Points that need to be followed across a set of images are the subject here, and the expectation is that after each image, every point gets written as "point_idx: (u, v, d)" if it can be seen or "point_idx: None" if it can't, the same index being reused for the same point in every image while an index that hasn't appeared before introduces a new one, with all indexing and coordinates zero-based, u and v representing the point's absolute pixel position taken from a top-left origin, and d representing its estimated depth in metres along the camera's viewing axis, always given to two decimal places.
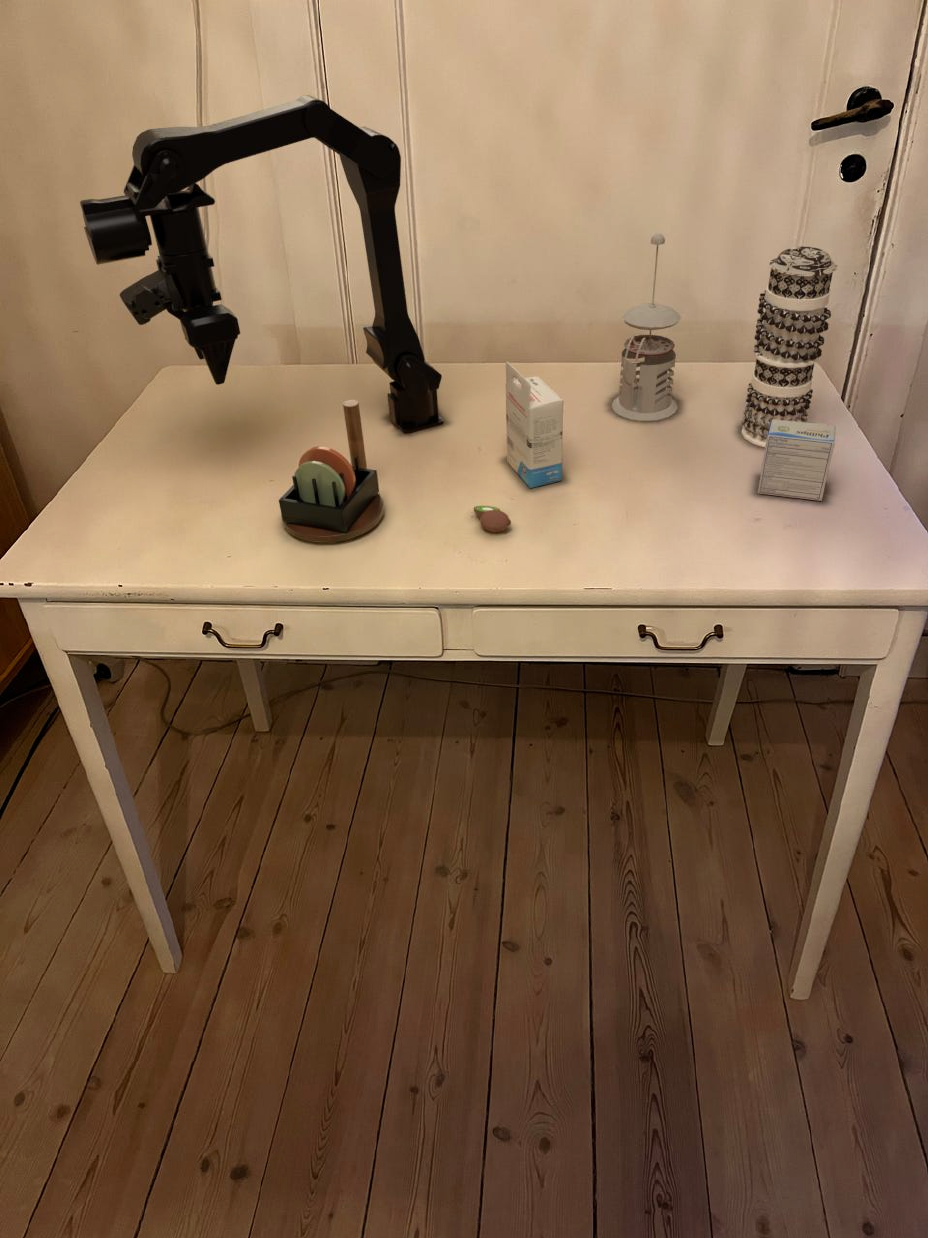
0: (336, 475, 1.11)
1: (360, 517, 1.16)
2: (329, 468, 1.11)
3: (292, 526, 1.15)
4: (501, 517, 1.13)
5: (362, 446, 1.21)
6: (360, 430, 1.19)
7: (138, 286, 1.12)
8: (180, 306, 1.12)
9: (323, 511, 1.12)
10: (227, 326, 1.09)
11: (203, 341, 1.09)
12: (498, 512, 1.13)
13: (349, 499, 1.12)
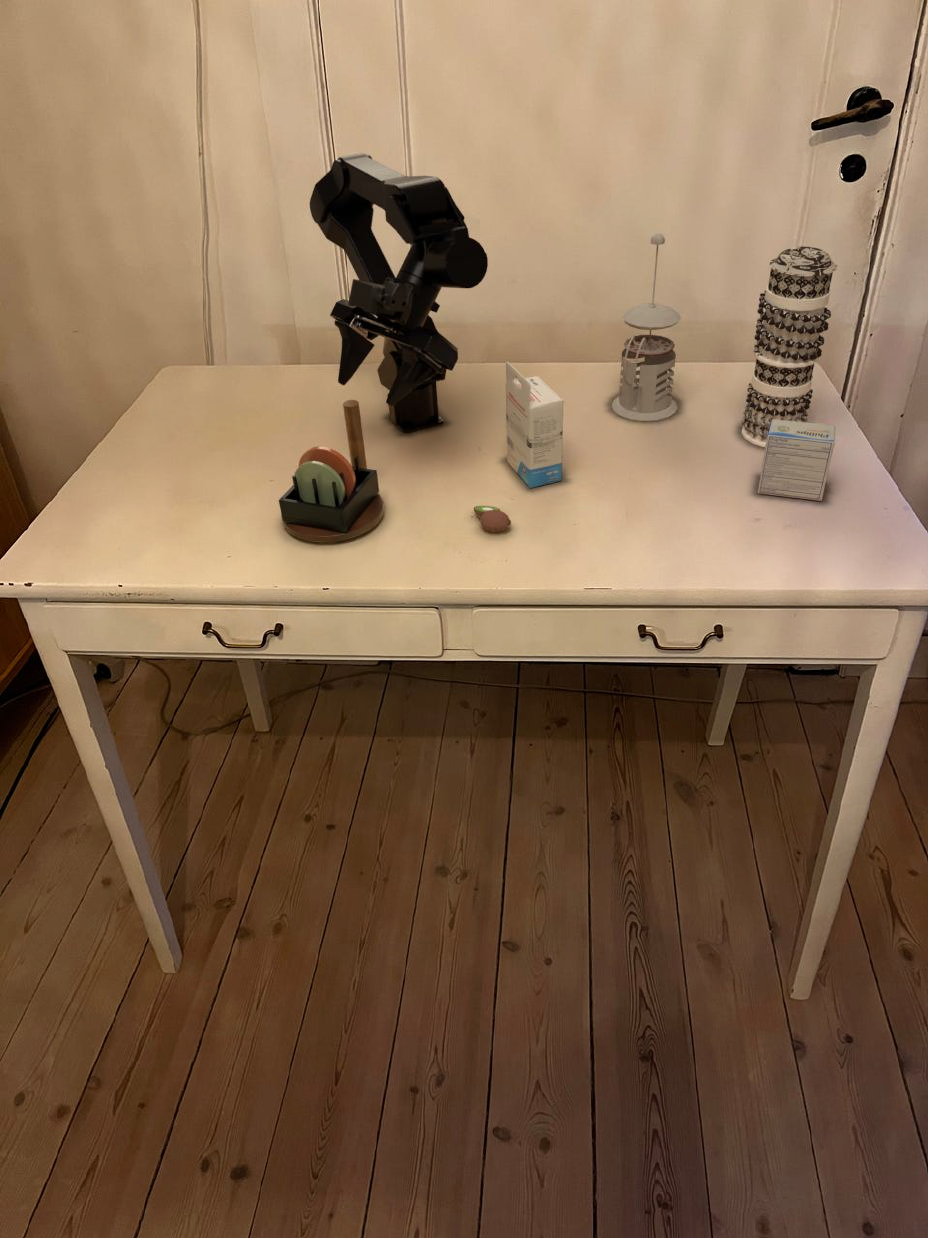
0: (336, 475, 1.11)
1: (360, 517, 1.16)
2: (329, 468, 1.11)
3: (292, 526, 1.15)
4: (501, 517, 1.13)
5: (362, 446, 1.21)
6: (360, 430, 1.19)
7: (374, 284, 1.13)
8: (401, 321, 1.15)
9: (323, 511, 1.12)
10: (453, 357, 1.15)
11: (435, 355, 1.12)
12: (498, 512, 1.13)
13: (349, 499, 1.12)
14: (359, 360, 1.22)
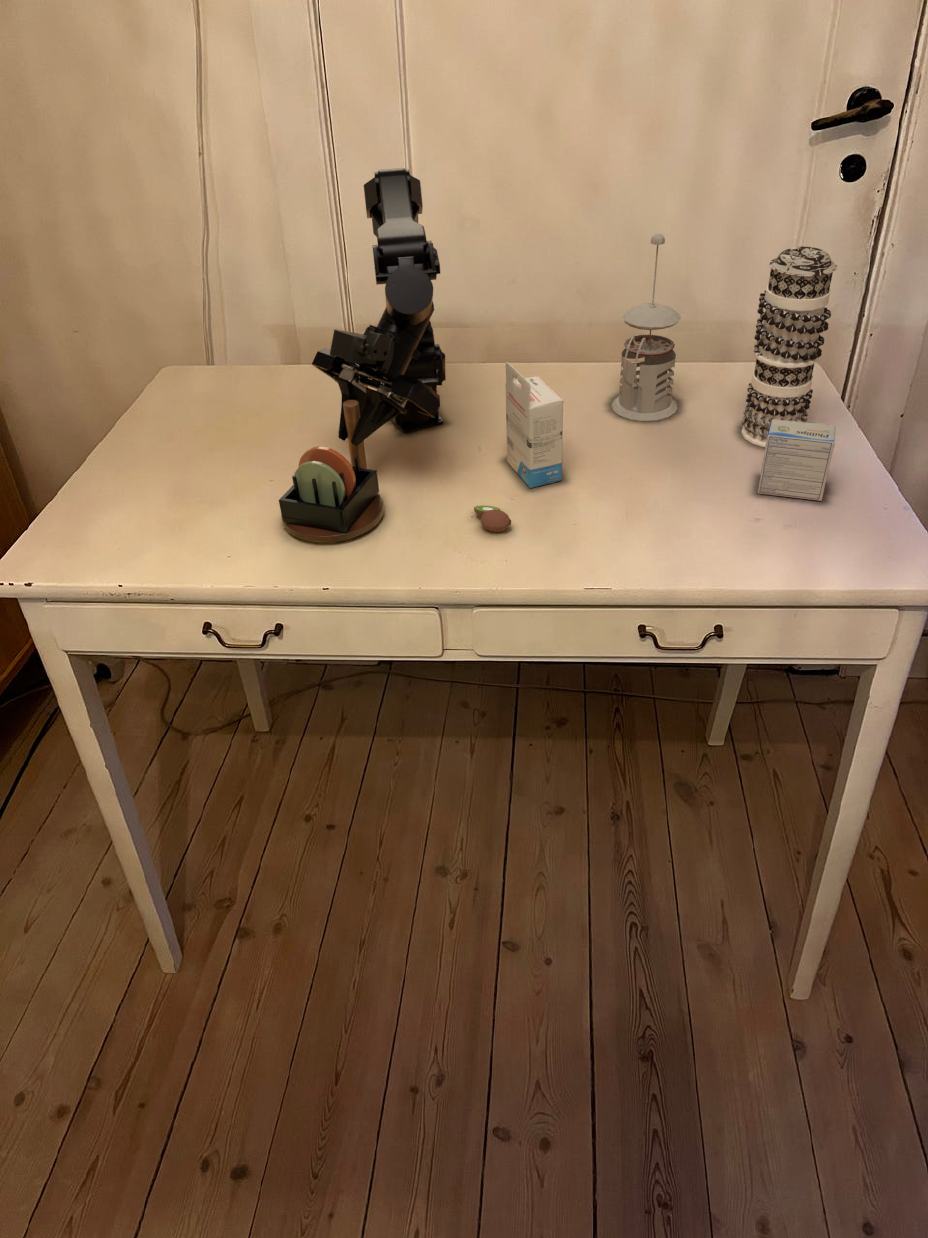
0: (336, 475, 1.11)
1: (360, 517, 1.16)
2: (329, 468, 1.11)
3: (292, 526, 1.15)
4: (502, 517, 1.13)
5: (362, 446, 1.21)
6: None
7: (355, 334, 1.14)
8: (383, 370, 1.16)
9: (323, 511, 1.12)
10: (435, 404, 1.15)
11: (418, 403, 1.13)
12: (499, 512, 1.13)
13: (349, 499, 1.12)
14: None
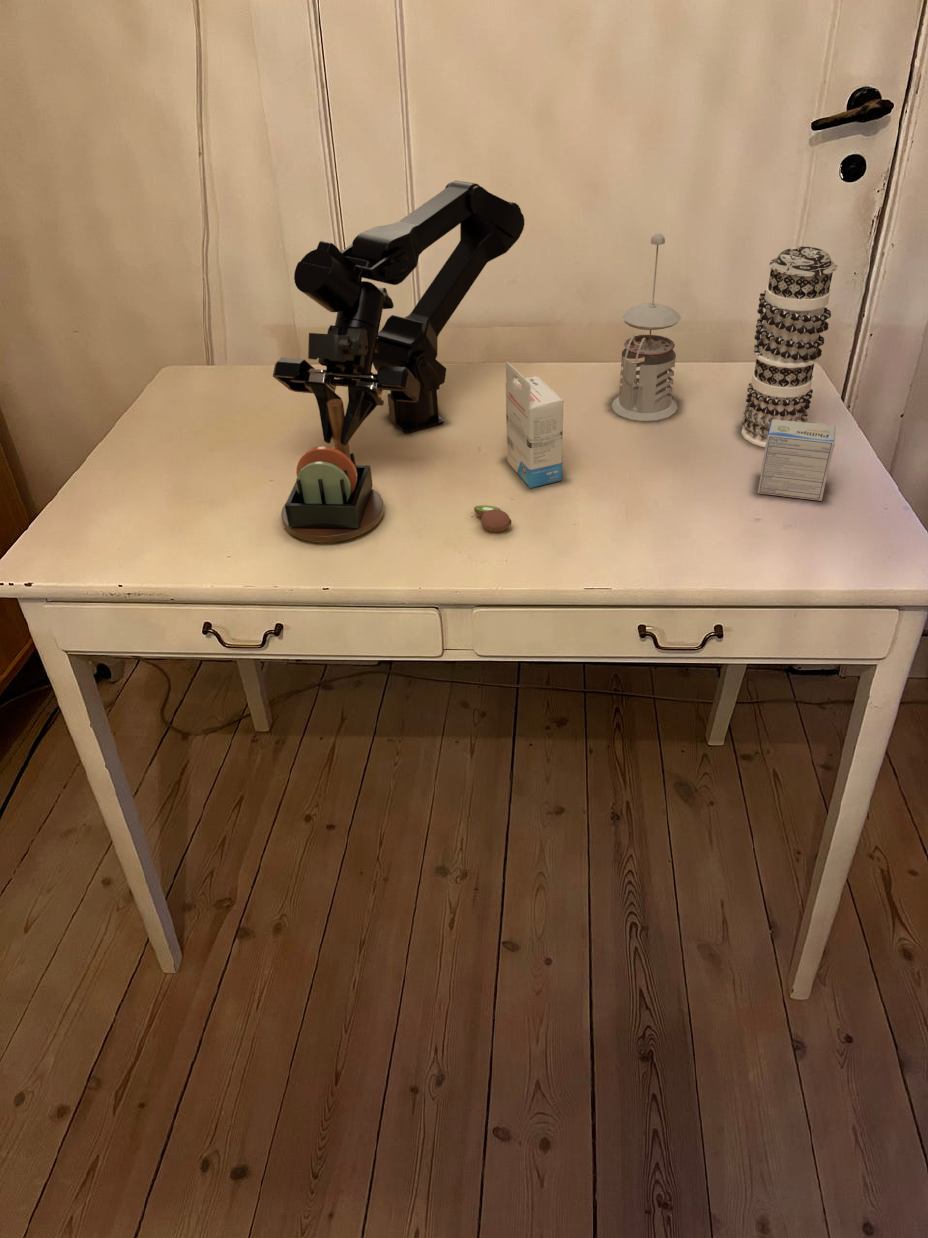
0: (342, 473, 1.11)
1: None
2: (335, 466, 1.11)
3: None
4: (502, 517, 1.13)
5: (348, 444, 1.21)
6: None
7: None
8: None
9: (334, 510, 1.12)
10: (417, 389, 1.19)
11: (408, 388, 1.16)
12: (499, 512, 1.13)
13: (356, 495, 1.13)
14: None
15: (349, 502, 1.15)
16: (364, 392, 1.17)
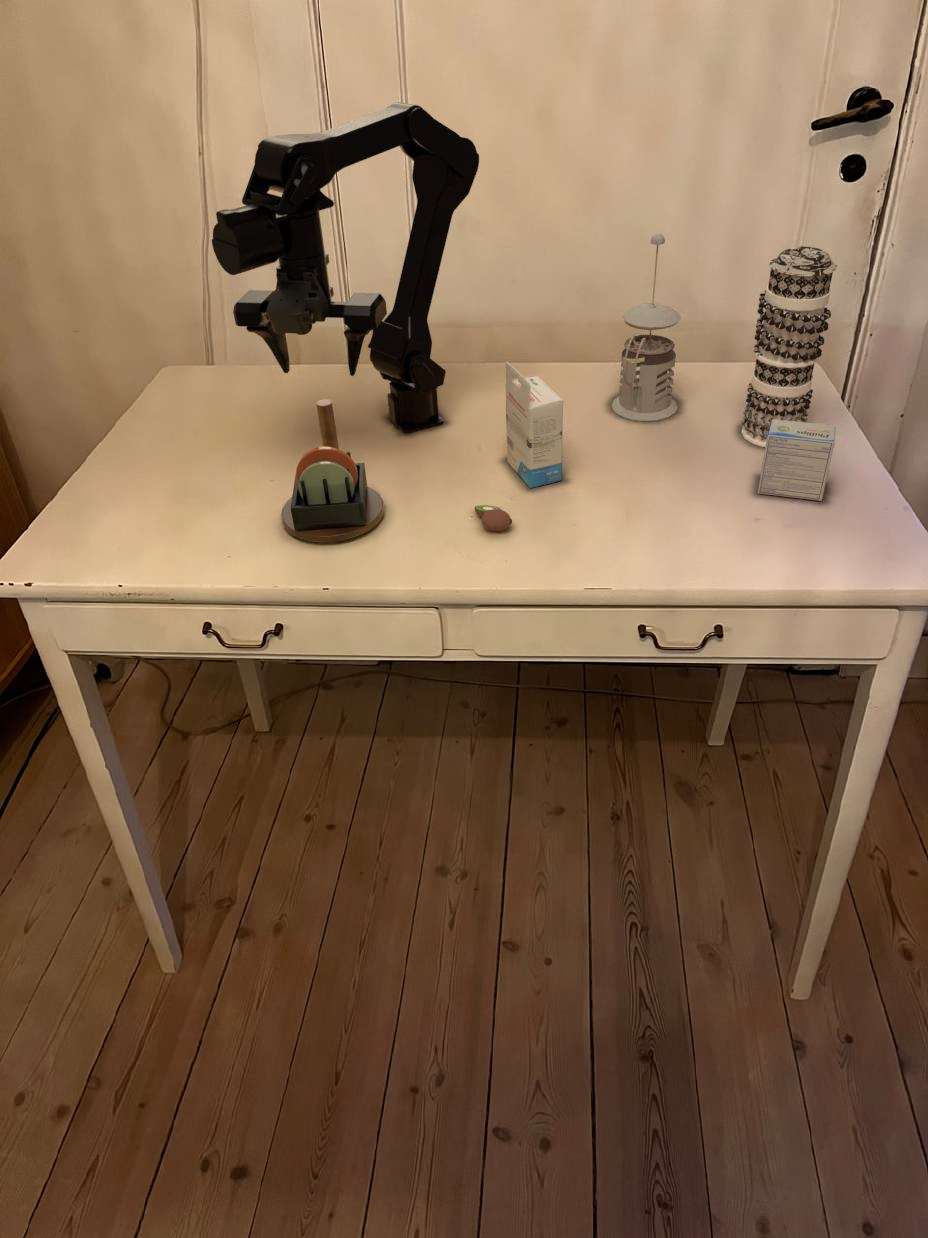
0: (346, 471, 1.12)
1: None
2: (338, 465, 1.11)
3: (292, 526, 1.15)
4: (503, 516, 1.13)
5: (337, 443, 1.21)
6: (335, 428, 1.20)
7: (284, 299, 1.10)
8: None
9: (341, 508, 1.12)
10: (384, 305, 1.16)
11: (378, 324, 1.15)
12: (500, 511, 1.13)
13: (360, 492, 1.14)
14: (284, 339, 1.22)
15: (351, 500, 1.16)
16: None
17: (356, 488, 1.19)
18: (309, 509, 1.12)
